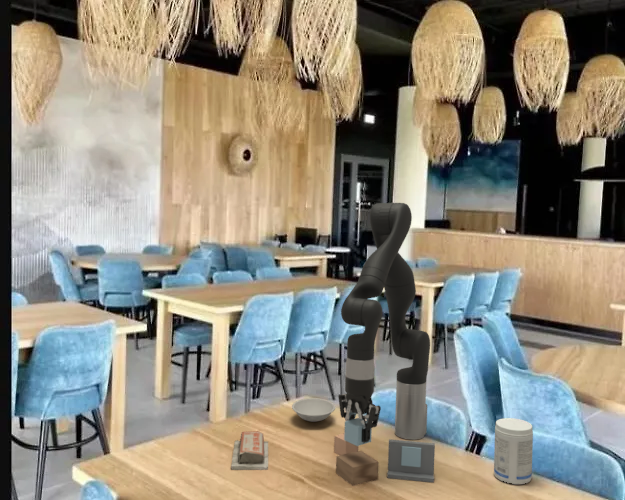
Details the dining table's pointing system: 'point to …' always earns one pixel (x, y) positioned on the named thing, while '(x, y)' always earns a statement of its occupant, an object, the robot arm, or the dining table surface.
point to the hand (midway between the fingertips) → (357, 438)
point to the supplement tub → (513, 450)
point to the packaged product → (250, 452)
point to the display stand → (411, 460)
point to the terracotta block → (343, 445)
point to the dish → (313, 409)
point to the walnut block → (357, 467)
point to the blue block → (354, 432)
